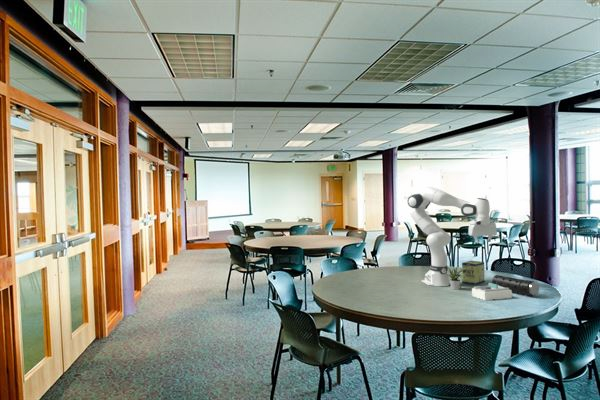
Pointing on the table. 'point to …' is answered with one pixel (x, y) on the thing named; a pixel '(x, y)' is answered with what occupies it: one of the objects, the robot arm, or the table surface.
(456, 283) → the house plant
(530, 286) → the muzzle brake
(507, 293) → the socket box
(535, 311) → the table surface
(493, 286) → the shutter
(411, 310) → the table surface
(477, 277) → the protein box
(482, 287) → the plug
